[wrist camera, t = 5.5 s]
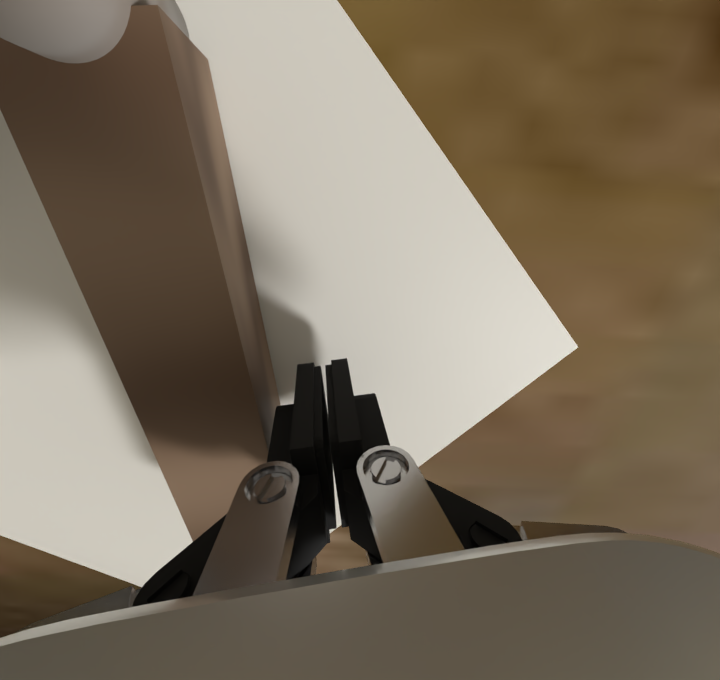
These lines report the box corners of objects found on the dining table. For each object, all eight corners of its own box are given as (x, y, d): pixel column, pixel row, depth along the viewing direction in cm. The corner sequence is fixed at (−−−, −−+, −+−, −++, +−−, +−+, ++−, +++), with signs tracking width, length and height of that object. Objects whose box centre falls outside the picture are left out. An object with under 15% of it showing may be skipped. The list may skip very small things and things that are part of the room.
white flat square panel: (547, 326, 15) (618, 373, 12) (228, 576, 20) (209, 663, 16) (116, -268, 7) (-67, -678, 4) (-241, 377, 12) (-470, 462, 9)
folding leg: (41, -35, 7) (-182, -205, 4) (187, -39, 8) (90, -202, 4) (222, 488, 14) (195, 582, 11) (295, 477, 14) (290, 566, 11)
